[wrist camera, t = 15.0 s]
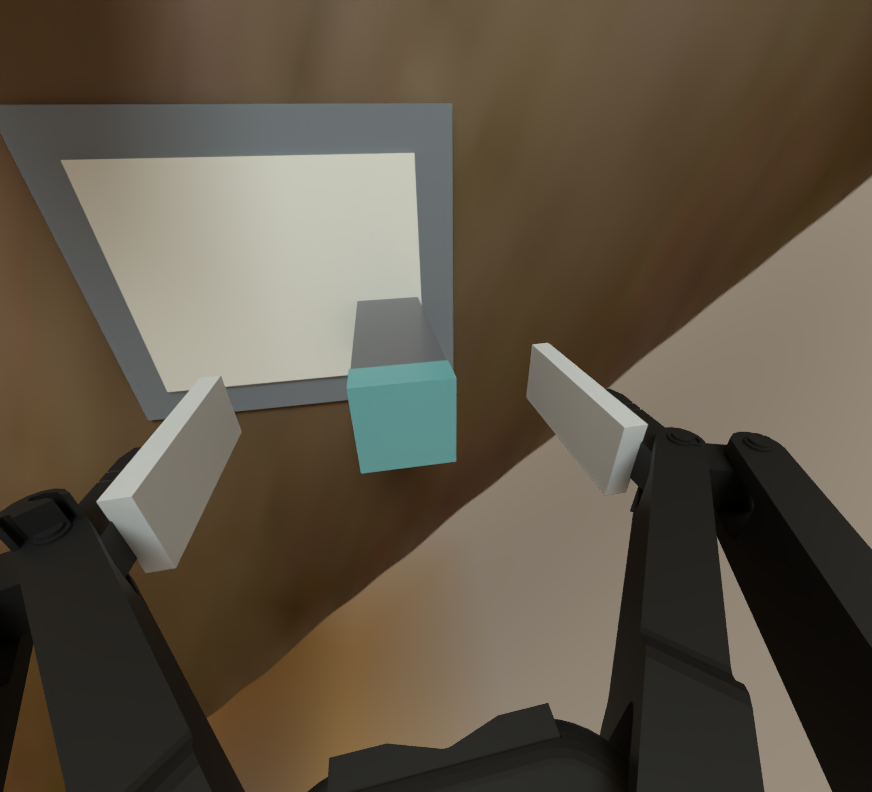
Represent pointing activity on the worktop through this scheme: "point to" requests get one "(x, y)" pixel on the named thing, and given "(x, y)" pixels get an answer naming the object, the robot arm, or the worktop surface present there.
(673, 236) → the worktop surface
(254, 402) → the paper
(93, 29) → the worktop surface
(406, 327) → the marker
